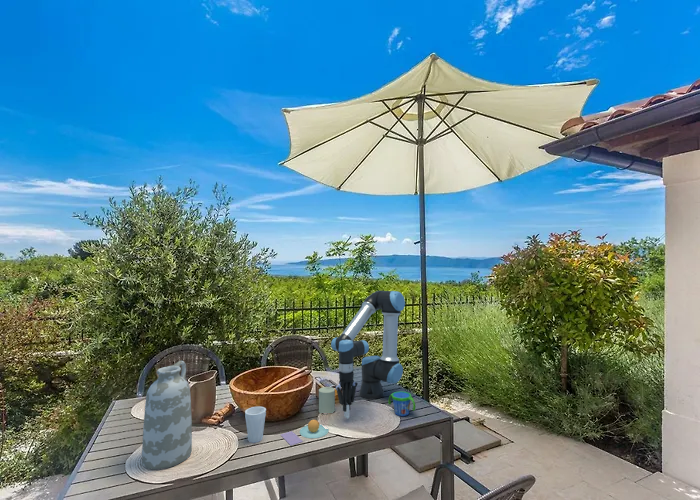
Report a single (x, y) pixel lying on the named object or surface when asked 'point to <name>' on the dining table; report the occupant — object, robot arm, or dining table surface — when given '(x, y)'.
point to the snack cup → (401, 402)
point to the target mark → (317, 434)
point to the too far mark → (291, 438)
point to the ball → (313, 425)
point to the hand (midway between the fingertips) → (346, 417)
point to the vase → (167, 420)
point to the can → (326, 400)
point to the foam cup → (255, 423)
